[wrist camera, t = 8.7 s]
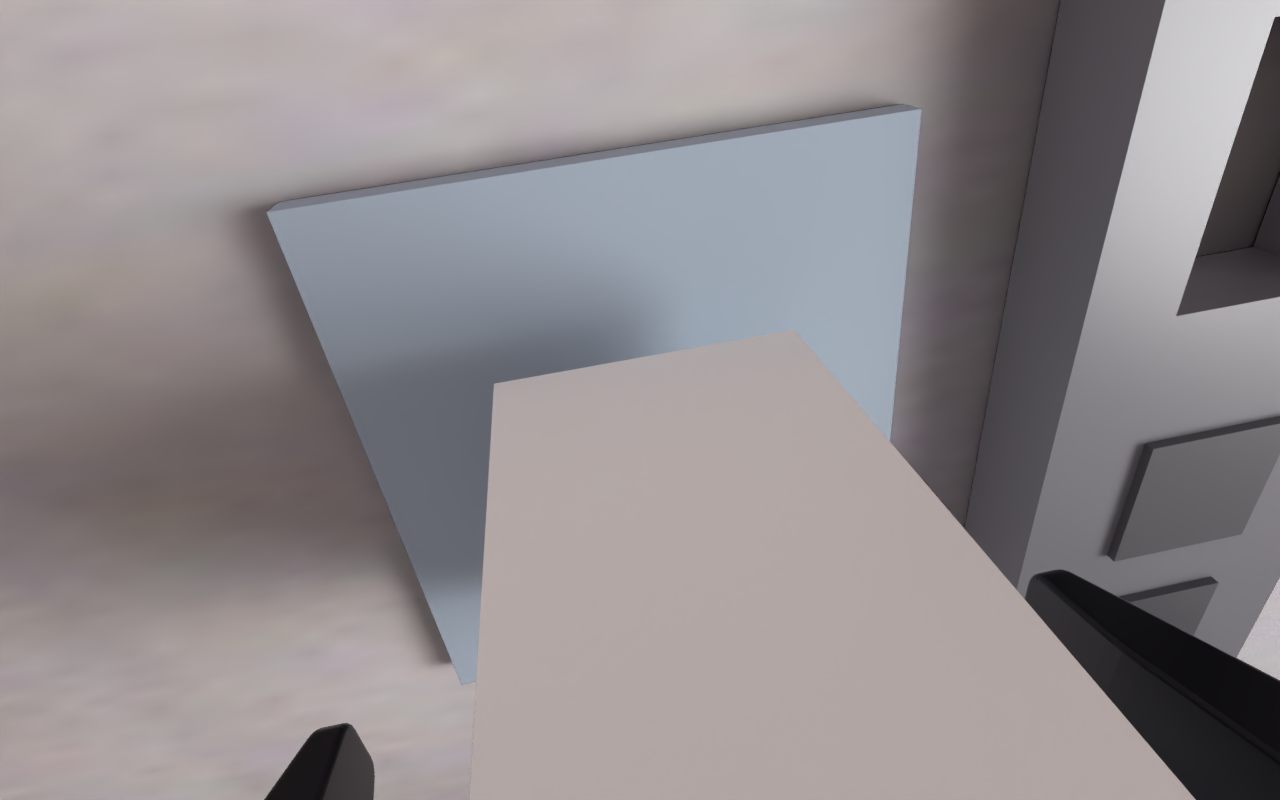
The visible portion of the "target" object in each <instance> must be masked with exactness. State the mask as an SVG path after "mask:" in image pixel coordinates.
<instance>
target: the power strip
mask: <svg viewBox="0 0 1280 800" xmlns="http://www.w3.org/2000/svg"><path fill="white" fill-rule="evenodd" d="M1279 16H1280V0H1061V1H1060V7H1059V12H1058V18H1057V23H1056V29H1055V34H1054V40H1053V45H1052V51H1051V56H1050V62H1049V67H1048V73H1047V78H1046V84H1045V89H1044V95H1043V100H1042V106H1041V111H1040V117H1039V122H1038V128H1037V133H1036V139H1035V144H1034V150H1033V155H1032V161H1031V166H1030V172H1029V177H1028V183H1027V188H1026V194H1025V199H1024V205H1023V210H1022V216H1021V221H1020V227H1019V232H1018V237H1017V243H1016V248H1015V254H1014V259H1013V265H1012V270H1011V276H1010V281H1009V287H1008V292H1007V298H1006V303H1005V309H1004V314H1003V320H1002V325H1001V331H1000V336H999V342H998V347H997V353H996V358H995V364H994V369H993V375H992V380H991V386H990V391H989V397H988V402H987V408H986V413H985V419H984V424H983V430H982V435H981V441H980V446H979V452H978V457H977V463H976V468H975V474H974V479H973V485H972V490H971V496H970V501H969V507H968V512H967V518H966V523H965V530H966V531H967V532H968V534H969V535H970V536H971V537H972V538H973V539H974V541H975V542H976V543H977V544H978V545H979V546H980V548H981V549H982V550H983V551H984V552H985V554H986V555H987V556H988V557H989V558H990V559H991V561H992V562H993V563H994V564H995V565H996V566H997V568H998V569H999V570H1000V571H1001V572H1002V573H1003V575H1004V576H1005V577H1006V578H1007V579H1008V580H1009V582H1010V583H1011V584H1012V585H1013V586H1014V587H1015V589H1016V590H1017V591H1018V592H1019V593H1020V594H1021V596H1022V597H1023V598H1024V599H1025V595H1026V591H1027V587H1028V583H1029V581H1030V579H1031V577H1032V576H1034V575H1035V574H1038V573H1043V572H1048V571H1052V570H1059V569H1061V570H1066V571H1069V572H1072V573H1074V574H1076V575H1078V576H1080V577H1081V578H1083V579H1085V580H1087V581H1089V582H1091V583H1093V584H1095V585H1097V586H1099V587H1101V588H1103V589H1105V590H1106V591H1108V592H1110V593H1112V594H1114V595H1116V596H1118V597H1120V598H1122V599H1124V600H1126V601H1128V602H1130V603H1132V604H1133V605H1135V606H1137V607H1139V608H1141V609H1143V610H1145V611H1147V612H1149V613H1151V614H1153V615H1155V616H1157V617H1158V618H1160V619H1162V620H1164V621H1166V622H1168V623H1170V624H1172V625H1174V626H1176V627H1178V628H1180V629H1182V630H1184V631H1185V632H1187V633H1189V634H1191V635H1193V636H1195V637H1197V638H1199V639H1201V640H1203V641H1205V642H1207V643H1209V644H1210V645H1212V646H1214V647H1216V648H1218V649H1220V650H1222V651H1224V652H1226V653H1228V654H1230V655H1232V656H1234V657H1237V655H1238V653H1239V652H1240V650H1241V648H1242V646H1243V644H1244V642H1245V641H1246V639H1247V637H1248V635H1249V633H1250V631H1251V629H1252V628H1253V626H1254V624H1255V622H1256V620H1257V618H1258V616H1259V615H1260V613H1261V611H1262V609H1263V607H1264V605H1265V604H1266V602H1267V600H1268V598H1269V596H1270V594H1271V592H1272V591H1273V589H1274V587H1275V585H1276V583H1277V581H1278V579H1279V578H1280V176H1279V179H1278V181H1277V184H1276V187H1275V189H1274V192H1273V195H1272V197H1271V200H1270V203H1269V205H1268V208H1267V211H1266V213H1265V216H1264V219H1263V221H1262V224H1261V227H1260V229H1259V232H1258V235H1257V237H1256V240H1255V243H1254V245H1253V247H1250V248H1244V249H1239V250H1233V251H1227V252H1222V253H1216V254H1211V255H1205V256H1200V257H1196V254H1197V251H1198V248H1199V245H1200V242H1201V239H1202V236H1203V233H1204V230H1205V227H1206V224H1207V221H1208V218H1209V215H1210V212H1211V209H1212V206H1213V203H1214V200H1215V197H1216V194H1217V191H1218V188H1219V185H1220V182H1221V179H1222V176H1223V173H1224V170H1225V166H1226V163H1227V160H1228V157H1229V154H1230V151H1231V148H1232V145H1233V142H1234V139H1235V136H1236V133H1237V130H1238V127H1239V124H1240V121H1241V118H1242V115H1243V112H1244V109H1245V106H1246V103H1247V100H1248V97H1249V94H1250V91H1251V88H1252V85H1253V82H1254V79H1255V76H1256V73H1257V70H1258V67H1259V64H1260V61H1261V58H1262V54H1263V51H1264V48H1265V45H1266V42H1267V39H1268V36H1269V33H1270V30H1271V27H1272V24H1273V21H1274V18H1275V17H1279Z"/></svg>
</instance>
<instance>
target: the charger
mask: <svg viewBox="0 0 1280 800" xmlns="http://www.w3.org/2000/svg"><path fill="white" fill-rule="evenodd" d="M469 800H1196V799H1195V798H1194V797H1193V796H1192V795H1191V794H1190V792H1189V791H1188V790H1187V789H1186V788H1185V787H1184V785H1183V784H1182V783H1181V782H1180V781H1179V779H1178V778H1177V777H1176V776H1175V775H1174V774H1173V772H1172V771H1171V770H1170V769H1169V768H1168V767H1167V765H1166V764H1165V763H1164V762H1163V761H1162V760H1161V758H1160V757H1159V756H1158V755H1157V754H1156V753H1155V751H1154V750H1153V749H1152V748H1151V747H1150V746H1149V744H1148V743H1147V742H1146V741H1145V740H1144V739H1143V737H1142V736H1141V735H1140V734H1139V733H1138V731H1137V730H1136V729H1135V728H1134V727H1133V726H1132V724H1131V723H1130V722H1129V721H1128V720H1127V719H1126V717H1125V716H1124V715H1123V714H1122V713H1121V712H1120V710H1119V709H1118V708H1117V707H1116V706H1115V705H1114V703H1113V702H1112V701H1111V700H1110V699H1109V698H1108V696H1107V695H1106V694H1105V693H1104V692H1103V691H1102V689H1101V688H1100V687H1099V686H1098V685H1097V683H1096V682H1095V681H1094V680H1093V679H1092V678H1091V676H1090V675H1089V674H1088V673H1087V672H1086V671H1085V669H1084V668H1083V667H1082V666H1081V665H1080V664H1079V662H1078V661H1077V660H1076V659H1075V658H1074V657H1073V655H1072V654H1071V653H1070V652H1069V651H1068V650H1067V648H1066V647H1065V646H1064V645H1063V644H1062V642H1061V641H1060V640H1059V639H1058V638H1057V637H1056V635H1055V634H1054V633H1053V632H1052V631H1051V630H1050V628H1049V627H1048V626H1047V625H1046V624H1045V623H1044V621H1043V620H1042V619H1041V618H1040V617H1039V616H1038V614H1037V613H1036V612H1035V611H1034V610H1033V609H1032V607H1031V606H1030V605H1029V604H1028V603H1027V602H1026V600H1025V599H1024V598H1023V597H1022V596H1021V594H1020V593H1019V592H1018V591H1017V590H1016V589H1015V587H1014V586H1013V585H1012V584H1011V583H1010V582H1009V580H1008V579H1007V578H1006V577H1005V576H1004V575H1003V573H1002V572H1001V571H1000V570H999V569H998V568H997V566H996V565H995V564H994V563H993V562H992V561H991V559H990V558H989V557H988V556H987V555H986V554H985V552H984V551H983V550H982V549H981V548H980V546H979V545H978V544H977V543H976V542H975V541H974V539H973V538H972V537H971V536H970V535H969V534H968V532H967V531H966V530H965V529H964V528H963V527H962V525H961V524H960V523H959V522H958V521H957V520H956V518H955V517H954V516H953V515H952V514H951V513H950V511H949V510H948V509H947V508H946V507H945V506H944V504H943V503H942V502H941V501H940V500H939V498H938V497H937V496H936V495H935V494H934V493H933V491H932V490H931V489H930V488H929V487H928V486H927V484H926V483H925V482H924V481H923V480H922V479H921V477H920V476H919V475H918V474H917V473H916V472H915V470H914V469H913V468H912V467H911V466H910V465H909V463H908V462H907V461H906V460H905V459H904V458H903V456H902V455H901V454H900V453H899V452H898V450H897V449H896V448H895V447H894V446H893V445H892V443H891V442H890V441H889V440H888V439H887V438H886V436H885V435H884V434H883V433H882V432H881V431H880V429H879V428H878V427H877V426H876V425H875V424H874V422H873V421H872V420H871V419H870V418H869V417H868V415H867V414H866V413H865V412H864V411H863V409H862V408H861V407H860V406H859V405H858V404H857V402H856V401H855V400H854V399H853V398H852V397H851V395H850V394H849V393H848V392H847V391H846V390H845V388H844V387H843V386H842V385H841V384H840V383H839V381H838V380H837V379H836V378H835V377H834V376H833V374H832V373H831V372H830V371H829V370H828V369H827V367H826V366H825V365H824V364H823V363H822V361H821V360H820V359H819V358H818V357H817V356H816V354H815V353H814V352H813V351H812V350H811V349H810V347H809V346H808V345H807V344H806V343H805V342H804V340H803V339H802V338H801V337H800V336H799V335H798V333H797V332H796V331H795V330H790V331H785V332H779V333H773V334H768V335H762V336H757V337H751V338H746V339H740V340H735V341H729V342H723V343H718V344H712V345H707V346H701V347H696V348H690V349H684V350H679V351H673V352H668V353H662V354H657V355H651V356H646V357H640V358H634V359H629V360H623V361H618V362H612V363H607V364H601V365H595V366H590V367H584V368H579V369H573V370H568V371H562V372H556V373H551V374H545V375H540V376H534V377H529V378H523V379H518V380H512V381H506V382H501V383H495V384H494V392H493V408H492V425H491V442H490V458H489V475H488V492H487V509H486V525H485V542H484V559H483V576H482V592H481V609H480V626H479V642H478V659H477V676H476V693H475V709H474V726H473V743H472V760H471V776H470V793H469Z"/></svg>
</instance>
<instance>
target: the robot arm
mask: <svg viewBox="0 0 1280 800" xmlns="http://www.w3.org/2000/svg"><path fill="white" fill-rule="evenodd" d="M1025 600H1026V602H1027V603H1028V604H1029V605H1030V606H1031V607H1032V609H1033V610H1034V611H1035V612H1036V613H1037V614H1038V616H1039V617H1040V618H1041V619H1042V620H1043V621H1044V623H1045V624H1046V625H1047V626H1048V627H1049V628H1050V630H1051V631H1052V632H1053V633H1054V634H1055V635H1056V637H1057V638H1058V639H1059V640H1060V641H1061V642H1062V644H1063V645H1064V646H1065V647H1066V648H1067V650H1068V651H1069V652H1070V653H1071V654H1072V655H1073V657H1074V658H1075V659H1076V660H1077V661H1078V662H1079V664H1080V665H1081V666H1082V667H1083V668H1084V669H1085V671H1086V672H1087V673H1088V674H1089V675H1090V676H1091V678H1092V679H1093V680H1094V681H1095V682H1096V683H1097V685H1098V686H1099V687H1100V688H1101V689H1102V691H1103V692H1104V693H1105V694H1106V695H1107V696H1108V698H1109V699H1110V700H1111V701H1112V702H1113V703H1114V705H1115V706H1116V707H1117V708H1118V709H1119V710H1120V712H1121V713H1122V714H1123V715H1124V716H1125V717H1126V719H1127V720H1128V721H1129V722H1130V723H1131V724H1132V726H1133V727H1134V728H1135V729H1136V730H1137V731H1138V733H1139V734H1140V735H1141V736H1142V737H1143V739H1144V740H1145V741H1146V742H1147V743H1148V744H1149V746H1150V747H1151V748H1152V749H1153V750H1154V751H1155V753H1156V754H1157V755H1158V756H1159V757H1160V758H1161V760H1162V761H1163V762H1164V763H1165V764H1166V765H1167V767H1168V768H1169V769H1170V770H1171V771H1172V772H1173V774H1174V775H1175V776H1176V777H1177V778H1178V779H1179V781H1180V782H1181V783H1182V784H1183V785H1184V787H1185V788H1186V789H1187V790H1188V791H1189V792H1190V794H1191V795H1192V796H1193V797H1194V798H1195V799H1196V800H1280V680H1278V679H1276V678H1274V677H1272V676H1270V675H1268V674H1266V673H1264V672H1262V671H1261V670H1259V669H1257V668H1255V667H1253V666H1251V665H1249V664H1247V663H1245V662H1243V661H1241V660H1239V659H1237V658H1236V657H1234V656H1232V655H1230V654H1228V653H1226V652H1224V651H1222V650H1220V649H1218V648H1216V647H1214V646H1212V645H1210V644H1209V643H1207V642H1205V641H1203V640H1201V639H1199V638H1197V637H1195V636H1193V635H1191V634H1189V633H1187V632H1185V631H1184V630H1182V629H1180V628H1178V627H1176V626H1174V625H1172V624H1170V623H1168V622H1166V621H1164V620H1162V619H1160V618H1158V617H1157V616H1155V615H1153V614H1151V613H1149V612H1147V611H1145V610H1143V609H1141V608H1139V607H1137V606H1135V605H1133V604H1132V603H1130V602H1128V601H1126V600H1124V599H1122V598H1120V597H1118V596H1116V595H1114V594H1112V593H1110V592H1108V591H1106V590H1105V589H1103V588H1101V587H1099V586H1097V585H1095V584H1093V583H1091V582H1089V581H1087V580H1085V579H1083V578H1081V577H1080V576H1078V575H1076V574H1074V573H1072V572H1069V571H1066V570H1061V569H1059V570H1052V571H1048V572H1043V573H1038V574H1035V575H1034V576H1032V577H1031V579H1030V581H1029V583H1028V587H1027V591H1026V595H1025ZM374 778H375V775H374V765H373V761H372V759H371V756H370V755H369V753H368V751H367V749H366V748H365V746H364V744H363V742H362V741H361V739H360V737H359V736H358V734H357V732H356V730H355V729H354V727H353V726H352V725H350V724H348V723H342V724H338V725H333V726H328V727H324V728H320V729H318V730H316V731H315V732H313V733H312V734H311V735H310V737H309V738H308V739H307V740H306V742H305V743H304V745H303V746H302V747H301V749H300V750H299V752H298V753H297V754H296V756H295V757H294V759H293V760H292V761H291V763H290V764H289V766H288V767H287V768H286V770H285V771H284V773H283V774H282V775H281V777H280V778H279V780H278V781H277V783H276V784H275V785H274V787H273V788H272V790H271V791H270V792H269V794H268V795H267V797H266V798H265V799H264V800H373V798H374Z"/></svg>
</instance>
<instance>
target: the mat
mask: <svg viewBox="0 0 1280 800" xmlns="http://www.w3.org/2000/svg"><path fill="white" fill-rule="evenodd" d="M921 111H922V109H920V108H916V107H912V106H909V105H905V104H900V105H893V106H887V107H881V108H874V109H868V110H861V111H855V112H849V113H842V114H836V115H830V116H823V117H817V118H811V119H804V120H798V121H791V122H785V123H779V124H772V125H766V126H760V127H753V128H747V129H741V130H734V131H728V132H721V133H715V134H709V135H702V136H696V137H690V138H683V139H677V140H671V141H664V142H658V143H651V144H645V145H639V146H632V147H626V148H620V149H613V150H607V151H601V152H594V153H588V154H581V155H575V156H569V157H562V158H556V159H550V160H543V161H537V162H531V163H524V164H518V165H511V166H505V167H499V168H492V169H486V170H480V171H473V172H467V173H461V174H454V175H448V176H441V177H435V178H429V179H422V180H416V181H410V182H403V183H397V184H391V185H384V186H378V187H371V188H365V189H359V190H352V191H346V192H340V193H333V194H327V195H321V196H314V197H308V198H302V199H295V200H289V201H282V202H278V203H277V204H276V205H275V206H274V207H272V208H271V209H270V210H269V211H267V212H266V213H267V215H268V218H269V220H270V223H271V225H272V227H273V230H274V232H275V235H276V237H277V240H278V242H279V244H280V247H281V249H282V252H283V254H284V256H285V259H286V261H287V264H288V266H289V269H290V271H291V273H292V276H293V278H294V281H295V283H296V285H297V288H298V290H299V293H300V295H301V298H302V300H303V302H304V305H305V307H306V310H307V312H308V315H309V317H310V319H311V322H312V324H313V327H314V329H315V331H316V334H317V336H318V339H319V341H320V344H321V346H322V348H323V351H324V353H325V356H326V358H327V361H328V363H329V365H330V368H331V370H332V373H333V375H334V377H335V380H336V382H337V385H338V387H339V390H340V392H341V394H342V397H343V399H344V402H345V404H346V406H347V409H348V411H349V414H350V416H351V419H352V421H353V423H354V426H355V428H356V431H357V433H358V436H359V438H360V440H361V443H362V445H363V448H364V450H365V452H366V455H367V457H368V460H369V462H370V465H371V467H372V469H373V472H374V474H375V477H376V479H377V482H378V484H379V486H380V489H381V491H382V494H383V496H384V498H385V501H386V503H387V506H388V508H389V511H390V513H391V515H392V518H393V520H394V523H395V525H396V527H397V530H398V532H399V535H400V537H401V540H402V542H403V544H404V547H405V549H406V552H407V554H408V557H409V559H410V561H411V564H412V566H413V569H414V571H415V573H416V576H417V578H418V581H419V583H420V586H421V588H422V590H423V593H424V595H425V598H426V600H427V603H428V605H429V607H430V610H431V612H432V615H433V617H434V619H435V622H436V624H437V627H438V629H439V632H440V634H441V636H442V639H443V641H444V644H445V646H446V648H447V651H448V653H449V656H450V658H451V661H452V663H453V665H454V668H455V670H456V673H457V675H458V678H459V680H460V682H461V685H464V684H468V683H473V682H476V676H477V659H478V642H479V626H480V609H481V592H482V576H483V559H484V542H485V525H486V509H487V492H488V475H489V458H490V442H491V425H492V408H493V392H494V384H495V383H501V382H506V381H512V380H518V379H523V378H529V377H534V376H540V375H545V374H551V373H556V372H562V371H568V370H573V369H579V368H584V367H590V366H595V365H601V364H607V363H612V362H618V361H623V360H629V359H634V358H640V357H646V356H651V355H657V354H662V353H668V352H673V351H679V350H684V349H690V348H696V347H701V346H707V345H712V344H718V343H723V342H729V341H735V340H740V339H746V338H751V337H757V336H762V335H768V334H773V333H779V332H785V331H790V330H795V331H796V332H797V333H798V335H799V336H800V337H801V338H802V339H803V340H804V342H805V343H806V344H807V345H808V346H809V347H810V349H811V350H812V351H813V352H814V353H815V354H816V356H817V357H818V358H819V359H820V360H821V361H822V363H823V364H824V365H825V366H826V367H827V369H828V370H829V371H830V372H831V373H832V374H833V376H834V377H835V378H836V379H837V380H838V381H839V383H840V384H841V385H842V386H843V387H844V388H845V390H846V391H847V392H848V393H849V394H850V395H851V397H852V398H853V399H854V400H855V401H856V402H857V404H858V405H859V406H860V407H861V408H862V409H863V411H864V412H865V413H866V414H867V415H868V417H869V418H870V419H871V420H872V421H873V422H874V424H875V425H876V426H877V427H878V428H879V429H880V431H881V432H882V433H883V434H884V435H885V436H886V438H887V439H888V440H889V441H890V436H891V426H892V415H893V405H894V394H895V384H896V373H897V363H898V352H899V342H900V331H901V321H902V310H903V300H904V289H905V279H906V268H907V258H908V247H909V237H910V226H911V216H912V205H913V195H914V184H915V174H916V163H917V153H918V142H919V132H920V121H921Z"/></svg>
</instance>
